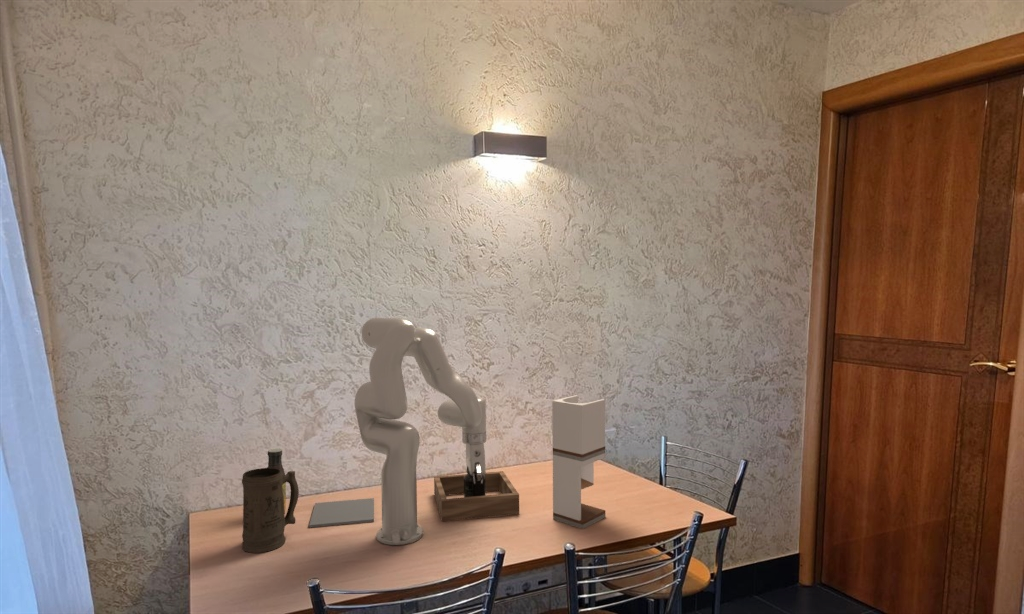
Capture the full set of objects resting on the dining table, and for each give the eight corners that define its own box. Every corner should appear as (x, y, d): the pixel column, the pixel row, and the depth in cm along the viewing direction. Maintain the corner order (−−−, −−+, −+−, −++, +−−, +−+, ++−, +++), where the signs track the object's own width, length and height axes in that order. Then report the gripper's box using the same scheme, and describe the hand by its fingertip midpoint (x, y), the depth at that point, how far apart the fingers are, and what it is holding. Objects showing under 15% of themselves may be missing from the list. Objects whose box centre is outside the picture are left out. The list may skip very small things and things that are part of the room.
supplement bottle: (473, 498, 194) (472, 461, 194) (490, 503, 190) (489, 465, 190) (459, 505, 189) (459, 467, 188) (476, 509, 185) (476, 471, 184)
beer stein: (255, 557, 153) (259, 478, 153) (230, 548, 159) (233, 472, 159) (305, 540, 166) (308, 467, 166) (280, 531, 172) (283, 461, 172)
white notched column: (582, 528, 169) (582, 405, 168) (553, 519, 177) (552, 400, 175) (605, 517, 178) (605, 399, 177) (576, 508, 185) (575, 395, 184)
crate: (519, 514, 181) (519, 494, 181) (442, 521, 176) (441, 501, 175) (503, 488, 203) (503, 471, 203) (434, 494, 198) (434, 476, 198)
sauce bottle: (270, 521, 177) (269, 454, 176) (259, 517, 180) (257, 451, 180) (290, 514, 182) (289, 449, 181) (279, 510, 186) (277, 446, 185)
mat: (373, 521, 176) (373, 519, 176) (309, 527, 172) (309, 525, 172) (373, 500, 193) (373, 498, 193) (315, 505, 189) (315, 503, 189)
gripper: (491, 443, 181) (492, 499, 182) (481, 429, 198) (482, 480, 199) (466, 445, 180) (467, 501, 180) (458, 431, 196) (459, 482, 197)
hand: (475, 490), depth 190 cm, fingers open, 9 cm apart
